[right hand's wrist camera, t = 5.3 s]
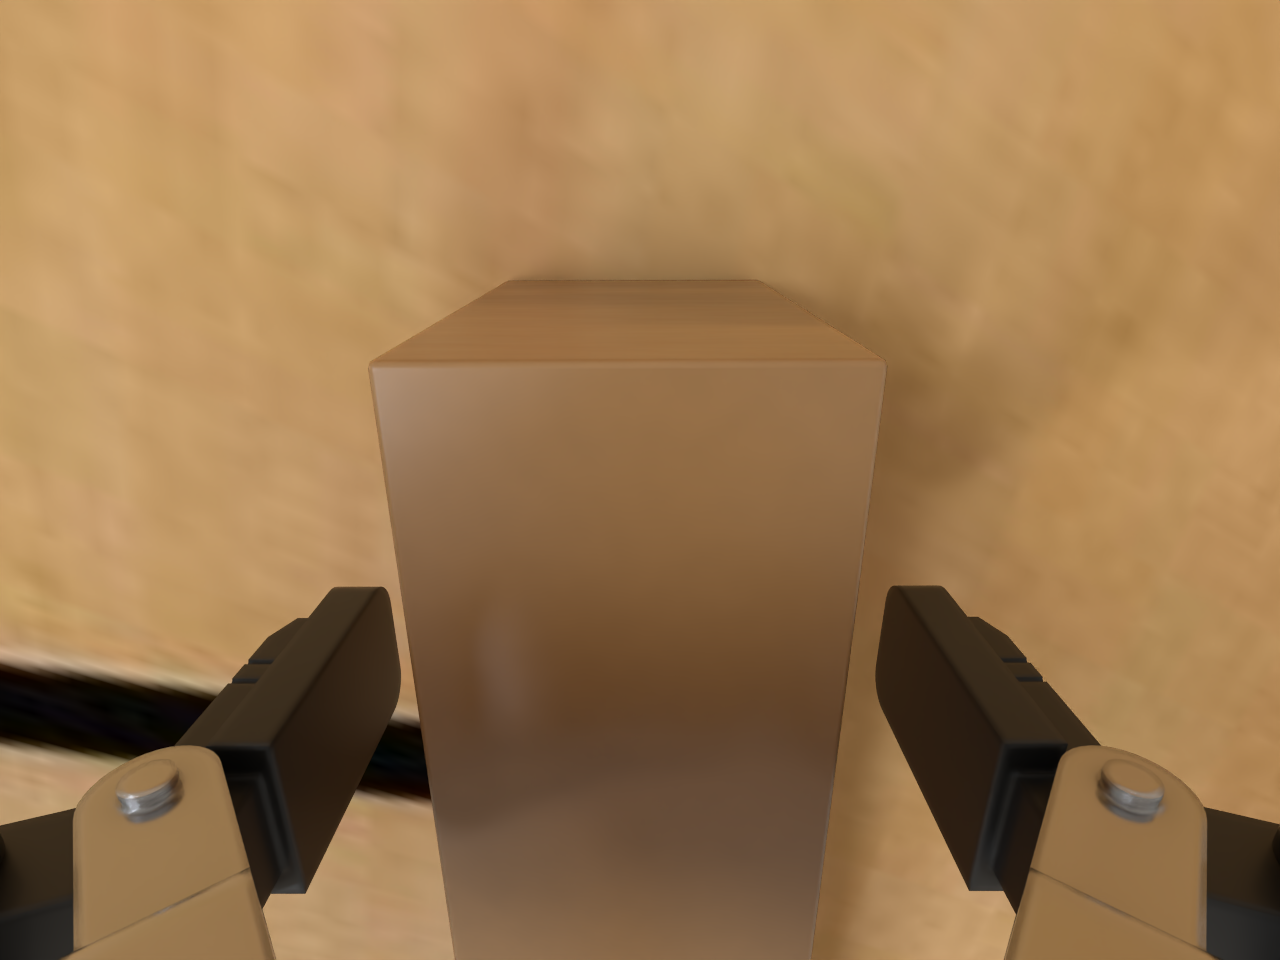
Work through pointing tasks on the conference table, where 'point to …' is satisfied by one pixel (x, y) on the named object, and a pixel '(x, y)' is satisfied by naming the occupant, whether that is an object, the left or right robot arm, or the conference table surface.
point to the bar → (630, 608)
